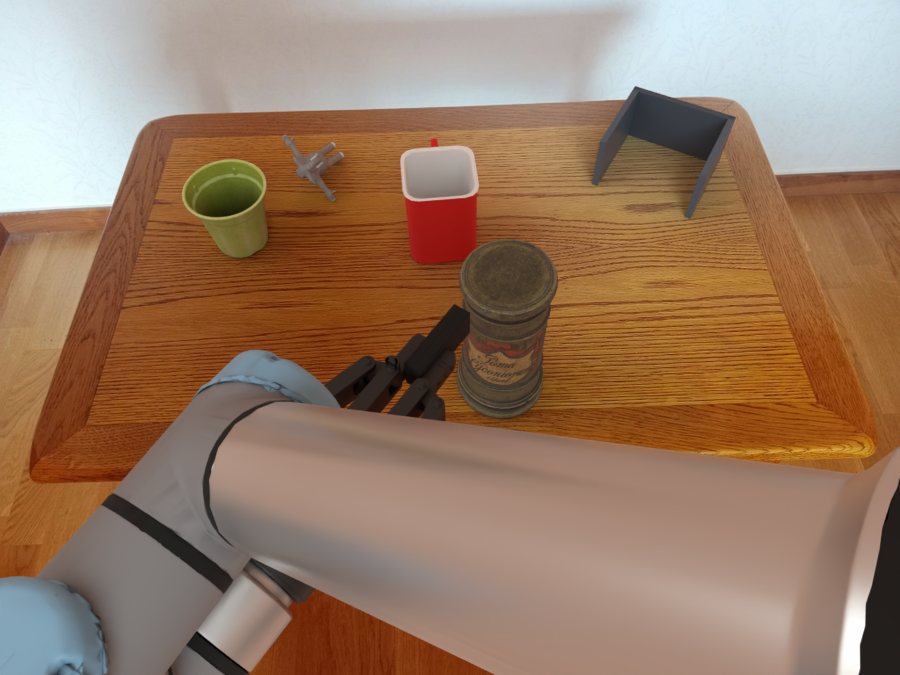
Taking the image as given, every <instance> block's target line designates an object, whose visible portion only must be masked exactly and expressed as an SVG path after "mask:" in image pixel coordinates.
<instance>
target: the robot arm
mask: <svg viewBox="0 0 900 675" xmlns="http://www.w3.org/2000/svg"><path fill="white" fill-rule="evenodd" d="M469 333H470V312H468V311H466V310H465V309H463V308H462V307H461V306H459V305H458V304H455V303H454V304H452V306H451V307H450V308H449V309H448V310H447V311H446V313H445V314H444V315H443V316H442V317H441V318H440V320H438V322H437V323H436V325H435V326H433V328H432V329H431V331H430V332H429V333H428V334H427V335H426V336H424V335H423V334H421V333H419V332H418V333H416V334H414V335H413V336H412V337H410V339H409V340H408V341H407V342H406V343H405V344H404V346H403V347H402V348H401V349H400V350H399V352H398V353H397V354H396V355H394V354H390V355H387V356H386V357H384V361H381V360H376V359H375V358H374V356H372V355H363V356H361V357H360V358H359V359H357V360H355V362H353V363H352V364H351V365H349V366H348V367H347V368H345V369H343V370H342V371H341V372H339V373H338V374H337V375H335V376H334V377H333V378H331V379H330V380H329V381H327V382H325V383H324V384H323V383H322V382H321V381H320V380H319V379H317V378H316V377H315V376H314V375H313V374H312V373H310V372H309V371H307V370H306V369H305V368H303V367H302V366H300V365H299V364H297V363H296V362H294V361H292V360H290V359H288V358H281V357H279V356H278V355H277V354H275V352H273V351H268V350H264V349H263V350H262V349H249V350H244V351H243V352H240V353H238V354H237V355H236V356H235V357H234V358H232V359H231V360H230V361H229V362H228V363H227V364H226V365H225V366H224V367H223V368H222V369H221V370H220V371H219V372H218V373H217V374H215V376H214V377H213V378H211V380H210V381H207V382H206V383H205V384H203V385H201V387H200V388H199V389H198V390H197V392H196V393H195V394H194V395H193V396H192V398H191V401H190V403H188V404H187V406H186V407H185V408H184V409H183V410H182V412H181V413H179V415H178V416H177V417H176V418H175V419H174V421H173V422H172V423H171V424H170V425H169V426H168V427H167V429H165V431H164V432H163V433H162V434H161V436H160V437H159V438H158V439H157V440H156V441H155V442H154V443H153V445H152V446H151V447H150V448H149V449H148V450H147V452H146V453H145V454H144V455H143V456H142V457H141V458H140V459H139V461H138V462H137V463H136V464H135V465H134V467H133V468H132V469H131V470H130V471H129V472H128V473H127V475H126V476H124V478H123V479H122V480H121V481H120V482H119V484H118V485H117V486H116V487H115V488H114V490H112V492H111V494H109V495H108V496H107V497H106V498H105V499H104V500H103V501H102V503H101V504H99V505H98V507H97V508H96V509H95V510H94V511H93V513H92V514H90V516H88V518H87V519H86V520H85V521H84V522H83V523H82V525H80V527H79V528H78V529H77V530H76V531H75V532H74V533H73V534H72V536H71V537H70V538H69V539H68V540H66V542H65V544H63V545H62V546H61V548H60V549H59V550H58V551H57V552H56V554H55V555H54V556H53V557H52V558H51V559H50V560H49V561H48V562H47V563H46V565H45V566H44V567H43V568H42V569H41V570H40V571H39V573H38V574H36V576H28V575H27V576H26V575H14V576H13V575H11V576H6V577H0V675H250V673H251V672H253V670H254V669H255V668H256V666H257V665H258V664H259V663H260V661H261V660H262V659H263V657H264V656H265V655H266V653H267V652H268V651H269V650H270V648H271V647H272V646H273V644H274V643H275V642H276V640H277V639H278V638H279V637H280V635H281V634H282V633H283V631H284V630H285V628H286V627H287V626H288V625H289V623H290V622H291V621H292V620H293V612H292V611H291V610H290V608H289V607H290V606H291V605H292V604H293V603H294V604H296V605H300V604H301V603H306V602H307V601H308V599H309V598H310V597H311V596H312V594H313V593H314V592H315V590H318V591H320V592H322V593H324V594H326V595H328V596H330V597H332V598H334V599H336V600H338V601H341V602H343V603H345V604H347V605H349V606H351V607H353V608H355V609H357V610H359V611H362V612H364V613H366V614H368V615H370V616H371V617H374V618H376V619H378V620H380V621H383V622H384V623H386V624H388V625H391V626H392V627H395V628H397V629H399V630H401V631H403V632H405V633H407V634H410V635H411V636H413V637H415V638H418V639H420V640H422V641H424V642H426V643H428V644H430V645H432V646H434V647H436V648H439V649H441V650H442V651H445V652H447V653H448V654H451V655H453V656H455V657H457V658H459V659H461V660H464V661H466V662H468V663H470V664H472V665H473V666H476V667H478V668H480V669H482V670H484V671H487V672H489V673H491V674H493V675H900V445H899V446H897V447H896V448H895V449H894V450H892V451H890V452H889V453H888V454H886V455H885V456H884V457H882V458H881V459H879V461H877V462H876V463H874V464H873V465H871V467H869V468H867V469H865V470H862V471H859V472H857V473H855V472H854V473H853V472H846V471H837V470H832V469H831V470H830V469H823V468H815V467H806V466H800V465H792V464H782V463H774V462H767V461H759V460H751V459H743V458H736V457H730V456H729V457H728V456H720V455H712V454H705V453H704V454H703V453H696V452H687V451H683V450H674V449H673V450H672V449H665V448H658V447H651V446H650V447H649V446H643V445H642V446H641V445H633V444H626V443H618V442H611V441H610V442H609V441H603V440H595V439H586V438H581V437H579V438H578V437H572V436H562V435H555V434H547V433H541V432H540V433H539V432H531V431H524V430H517V429H508V428H500V427H491V426H485V425H478V424H469V423H461V422H452V421H446V402H445V400H444V398H443V397H440V396H439V395H438V394H437V392H439V390H440V388H442V386H443V385H444V383H446V381H447V379H448V378H449V377H450V376H451V375H452V374H453V372H454V371H455V369H456V366H457V357H456V356H457V354H456V353H455V352H456V350H457V349H458V348H459V347H460V345H461V344H463V340H464V339H465V338H466V337H467V335H468V334H469ZM404 382H405V383H407V384H408V385H410V386H409V387H408V388H407V389H406V391H404V393H403V394H402V395H401V397H400V398H398V400H397V401H396V403H394V405H393V406H392V407H391V408H390V410H389V411H388V412H387V413H384V412H383V411H384V409H385V408H386V407H387V406H388V404H390V403H391V401H392V400H393V398H394V397H395V396H396V395H397V394H398V393H399V391H400V390H401V389H402V387H403V383H404ZM348 405H349V406H348ZM347 406H348V407H347ZM346 407H347V408H346ZM382 412H383V413H382Z"/></svg>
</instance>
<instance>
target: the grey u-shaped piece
mask: <svg viewBox="0 0 900 675" xmlns="http://www.w3.org/2000/svg"><path fill="white" fill-rule="evenodd" d="M736 118H737V116H734V115H731V114H728V113H724V112H721V111H718V110H714V109H712V108H708V107H705V106H702V105H698V104H695V103H692V102H688V101H685V100H682V99H679V98H676V97H673V96H669V95H666V94H663V93H660V92H656V91H653V90H649V89H646V88H643V87H640V86H636V85H635V86H634V87H633V89H632V90H631V91H630V93H629V95H627V98H626V100H625V101H624V103H623V104H622V106H620V108H619V111H618V112H617V113H616V115H615V116H614V118H613V120H612V121H611V123H610V124H609V126H608V127H607V129H606V131H605V132H604V133H603V136H602V137H601V138H600V140H599V144H598V149H597V154H596V159H595V164H594V169H593V174H592V179H591V185H594V186H599V183H601V180H602V179H603V177H604V175H605V174H606V172H607V170H608V168H609V167H610V166H611V164H612V162H613V161H614V159H615V157H616V156H617V154H618V153H619V151H620V149H621V148H622V146H623V144H624V142H625V141H626V140H627V138H628V136H631V137H635V138H637V139H640V140H644V141H646V142H650V143H652V144H655V145H659V146H662V147H665V148H668V149H671V150H674V151H677V152H680V153H683V154H685V155H689V156H692V157H695V158H698V159H701V160H704V161H705V163H704V165H703V167H702V169H701V171H700V174H699V175H698V177H697V181H696V182H695V186H694V189H693V191H692V195H691V197H690V200H689V202H688V206H687V208H686V211H685V214H684V217H685V218H687V219H692V217H693V215H694V213H695V211H696V209H697V207H698V205H699V203H700V201H701V199H702V197H703V195H704V193H705V191H706V189H707V186H708V184H709V182H710V181H711V178H712V176H713V174H714V173H715V170H716V169H717V166H718V164H719V162H720V161H721V157H722V155H723V153H724V149H725V147H726V146H727V145H726V144H727V142H728V140H729V137H730V134H731V133H732V132H731V131H732V129H733V126H734V124H735V121H736Z"/></svg>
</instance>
